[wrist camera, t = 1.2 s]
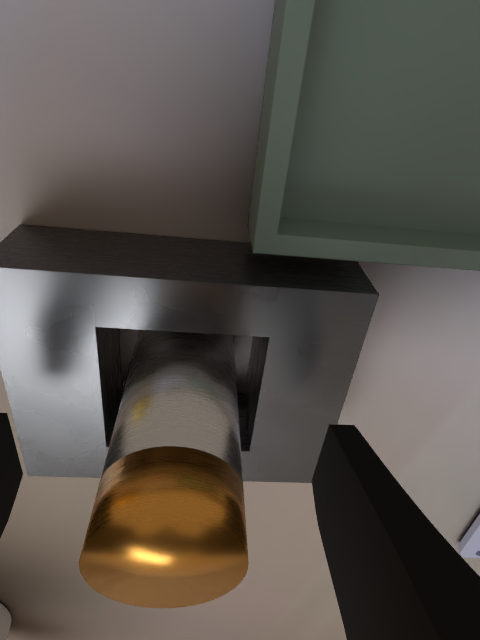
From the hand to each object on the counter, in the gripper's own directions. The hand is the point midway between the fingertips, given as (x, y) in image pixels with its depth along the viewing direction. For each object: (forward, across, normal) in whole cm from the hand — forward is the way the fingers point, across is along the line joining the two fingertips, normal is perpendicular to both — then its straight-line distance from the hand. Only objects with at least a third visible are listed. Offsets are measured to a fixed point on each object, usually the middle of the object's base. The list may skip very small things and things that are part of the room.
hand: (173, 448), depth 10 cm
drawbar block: (+4, 0, 0) cm, 4 cm away
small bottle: (+4, 0, 0) cm, 4 cm away
